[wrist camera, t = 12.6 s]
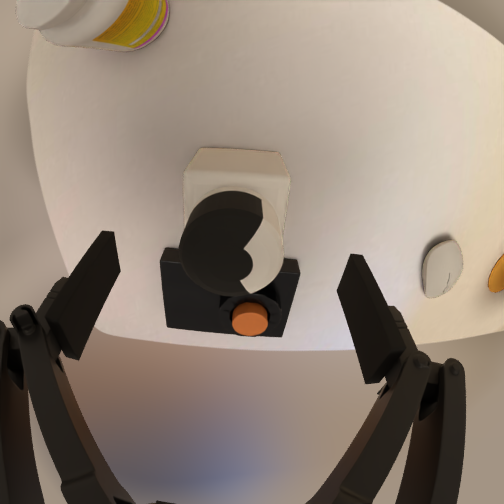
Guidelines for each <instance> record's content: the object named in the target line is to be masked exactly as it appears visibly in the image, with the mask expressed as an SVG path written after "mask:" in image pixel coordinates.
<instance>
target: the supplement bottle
mask: <svg viewBox="0 0 504 504" xmlns="http://www.w3.org/2000/svg"><path fill="white" fill-rule="evenodd" d="M16 16H17V20H18V22H19V23H20V24H21V25H22V26H23V27H25V28H29V29H37V30H39V31H40V33H41V35H42V36H43V37H44V38H45V39H46V40H47V41H48V42H50V43H52V44H54V45H58V46H67V47H83V48H95V49H104V50H111V51H120V52H128V51H134V50H137V49H140V48H142V47H144V46H146V45H148V44H149V43H151V42H152V41H153V40H154V39H156V38H157V37H158V36H159V34H160V33H161V32H162V31H163V29H164V27H165V26H166V24H167V21H168V18H169V3H168V0H17V4H16Z"/></svg>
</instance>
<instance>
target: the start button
mask: <svg viewBox="0 0 504 504" xmlns="http://www.w3.org/2000/svg"><path fill="white" fill-rule="evenodd" d="M232 326H233V328H234V330H235V331H236V332H238V333H239V334H242V335H246V336H254V335H258V334H260V333H262V332H264V331H265V330H266V328H267V326H268V320H267V311H266V309H265V308H264V307H263V306H262V305H260V304H258V303H249V302H246V303H243V304H240V305H238V306H237V307H236V308H235V309H234V311H233V318H232Z"/></svg>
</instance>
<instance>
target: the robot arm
mask: <svg viewBox="0 0 504 504" xmlns="http://www.w3.org/2000/svg"><path fill="white" fill-rule="evenodd" d="M120 272H121V270H120V265H119V259H118V254H117V248H116V241H115V235H114V232H112V231H102V232H101V233H100V234H99V236H98V237H97V238H96V240H95V241H94V242H93V244H92V245H91V246H90V248H89V249H88V250H87V252H86V253H85V255H84V256H83V257H82V259H81V260H80V262H79V263H78V264H77V266H76V267H75V269H74V270H73V272H72V273H71V275H70V276H69V278H66V277H62V278H61V279H60V280H59V281H57V282H56V283H55V284H54V286H53V287H52V289H51V290H50V292H49V293H48V295H47V298H45V300H44V301H43V303H42V304H41V306H40V308H39V309H38V311H37V312H36V313H35V311H34V309H33V307H32V306H30V305H26V304H25V305H20V306H18V307H17V308H15V310H14V311H12V313H11V315H10V321H11V323H12V325H13V327H14V328H7V327H6V326H5V324H4V322H2V321H1V320H0V504H45V503H44V498H43V494H42V490H41V486H40V482H39V477H38V473H37V468H36V462H35V457H34V450H33V444H32V437H31V427H30V416H29V400H28V390H29V393H30V397H31V401H32V404H33V408H34V411H35V414H36V417H37V420H38V423H39V426H40V429H41V432H42V435H43V437H44V440H45V443H46V445H47V448H48V450H49V453H50V455H51V458H52V460H53V462H54V464H55V467H56V469H57V471H58V473H59V475H60V478H61V480H62V484H61V491H62V493H63V496H64V498H65V500H66V501H67V503H68V504H136V503H135V502H134V501H133V499H132V498H131V496H130V495H129V494H128V492H127V491H126V490H125V489H124V488H123V487H122V486H121V485H120V483H119V482H118V480H117V479H116V477H115V476H114V474H113V472H112V471H111V469H110V467H109V466H108V464H107V462H106V461H105V459H104V457H103V455H102V453H101V452H100V450H99V448H98V446H97V444H96V442H95V440H94V438H93V436H92V434H91V432H90V430H89V428H88V426H87V424H86V422H85V420H84V417H83V415H82V413H81V411H80V408H79V406H78V404H77V401H76V399H75V396H74V394H73V391H72V389H71V386H70V384H69V381H68V378H67V376H66V373H65V371H64V367H63V364H62V361H61V359H60V357H59V354H60V352H61V350H62V351H63V353H64V355H65V356H66V357H68V358H72V359H75V360H79V359H80V357H81V354H82V352H83V350H84V347H85V345H86V343H87V340H88V338H89V336H90V333H91V331H92V329H93V327H94V325H95V322H96V320H97V318H98V316H99V314H100V312H101V309H102V307H103V305H104V303H105V301H106V299H107V297H108V295H109V293H110V291H111V289H112V287H113V285H114V283H115V281H116V279H117V277H118V275H119V273H120ZM337 293H338V296H339V299H340V302H341V305H342V308H343V311H344V314H345V317H346V320H347V324H348V327H349V330H350V333H351V336H352V340H353V343H354V346H355V350H356V353H357V356H358V360H359V363H360V367H361V370H362V374H363V378H364V381H365V384H372V383H379V382H380V381H381V380H382V379H383V377H384V376H385V378H386V381H387V383H386V384H385V385H384V386H383V387H382V388H381V390H380V391H379V392H378V393H377V394H379V396H378V398H377V400H376V402H375V404H374V406H373V407H372V409H371V411H370V413H369V415H368V417H367V418H366V420H365V422H364V424H363V425H362V427H361V429H360V430H359V432H358V434H357V435H356V437H355V438H354V440H353V442H352V443H351V445H350V447H349V448H348V450H347V451H346V453H345V454H344V456H343V457H342V459H341V460H340V461H339V463H338V465H337V466H336V468H335V469H334V470H333V471H332V473H331V474H330V476H329V477H328V478H327V480H326V481H325V483H324V484H323V485H322V486H321V488H320V489H319V490H318V492H317V493H316V494H315V495H314V496H313V497H312V498H311V499H310V500H309V501H308V502H307V503H306V504H372V502H373V499H374V498H375V496H376V494H377V493H378V491H379V490H380V488H381V486H382V484H383V483H384V481H385V479H386V477H387V476H388V474H389V472H390V470H391V468H392V466H393V464H394V462H395V460H396V458H397V456H398V454H399V452H400V450H401V448H402V446H403V443H404V441H405V439H406V437H407V434H408V432H409V430H410V427H411V425H412V423H413V428H412V434H411V440H410V446H409V450H408V455H407V460H406V465H405V469H404V473H403V477H402V482H401V485H400V489H399V493H398V496H397V500H396V503H395V504H457V499H458V494H459V488H460V482H461V475H462V467H463V458H464V445H465V429H466V390H465V371H464V368H463V366H462V364H461V363H460V362H459V361H458V360H456V359H453V358H449V359H447V360H446V361H445V363H444V364H440V363H435V362H431V360H430V358H429V357H428V355H426V354H425V353H423V352H421V351H418V349H417V347H416V345H415V343H414V340H413V338H412V336H411V334H410V332H409V329H407V325H406V323H405V322H404V319H403V317H402V315H401V313H400V312H399V311H398V310H397V309H396V307H395V306H388V305H387V303H386V301H385V298H384V296H383V294H382V292H381V290H380V288H379V286H378V284H377V282H376V280H375V278H374V276H373V274H372V272H371V270H370V268H369V266H368V265H367V263H366V261H365V259H364V257H363V255H358V254H350V257H349V259H348V262H347V265H346V268H345V270H344V273H343V276H342V278H341V281H340V283H339V286H338V289H337ZM413 420H414V421H413ZM151 504H174V503H167V502H161V501H156V503H151Z"/></svg>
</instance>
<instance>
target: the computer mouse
mask: <svg viewBox="0 0 504 504" xmlns="http://www.w3.org/2000/svg"><path fill="white" fill-rule="evenodd" d="M462 270H463V255H462V251H461V248H460V246H459V244H458V243H457V242H456V241H454V240H448V241H444V242H442V243H440V244H438V245H436V246H435V247H433V248H432V249H431V250H430V251H429V253H428V254H427V256H426V258H425V260H424V263H423V269H422V277H423V284H424V292H425V296H426V297H427V298H436V297H439V296H441V295H443V294H445V293H446V292H448V291H449V290H450V289H451V288H452V287H453V286H454V284H455V283H456V282H457V280H458V279H459V277H460V275H461V273H462Z"/></svg>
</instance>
